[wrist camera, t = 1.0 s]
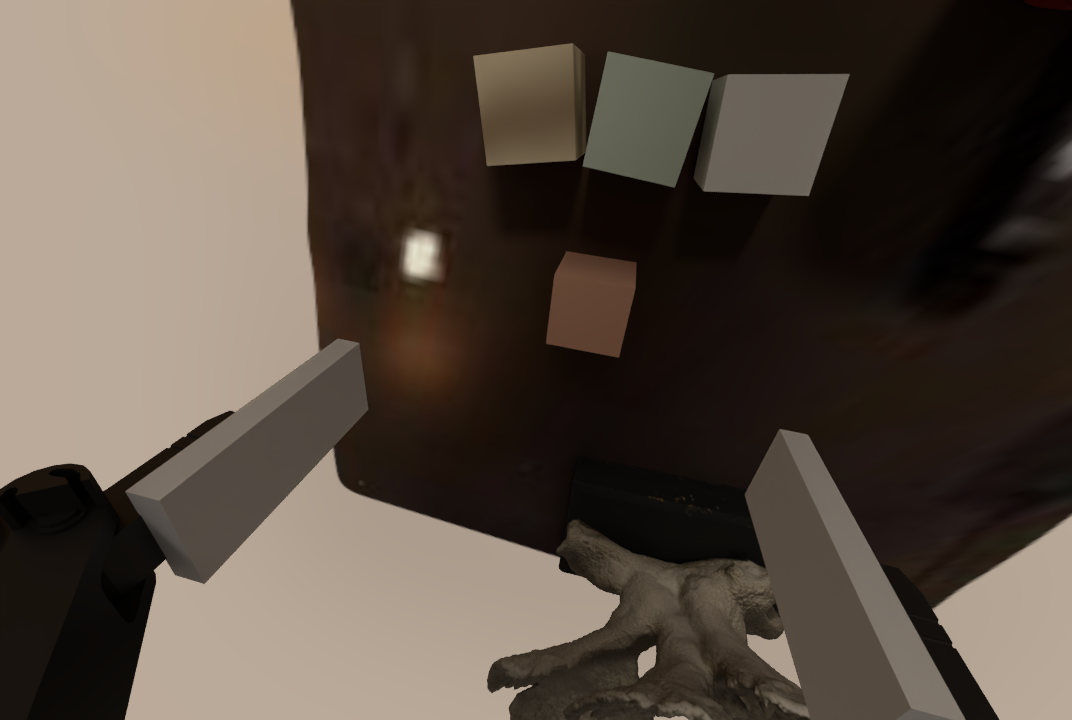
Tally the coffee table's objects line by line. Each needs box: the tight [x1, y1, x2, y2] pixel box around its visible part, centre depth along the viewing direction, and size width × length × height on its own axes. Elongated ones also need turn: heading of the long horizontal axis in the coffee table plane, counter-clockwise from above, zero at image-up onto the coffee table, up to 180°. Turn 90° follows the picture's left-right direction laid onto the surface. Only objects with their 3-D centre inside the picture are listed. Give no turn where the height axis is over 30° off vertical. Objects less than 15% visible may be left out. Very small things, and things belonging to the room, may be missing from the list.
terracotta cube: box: [546, 251, 636, 358], centre depth 29 cm, size 5×5×5 cm
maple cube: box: [473, 43, 586, 166], centre depth 23 cm, size 5×5×5 cm
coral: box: [487, 456, 811, 720], centre depth 31 cm, size 25×20×22 cm
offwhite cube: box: [694, 74, 850, 196], centre depth 22 cm, size 5×5×5 cm
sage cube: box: [583, 52, 714, 188], centre depth 22 cm, size 5×5×5 cm
